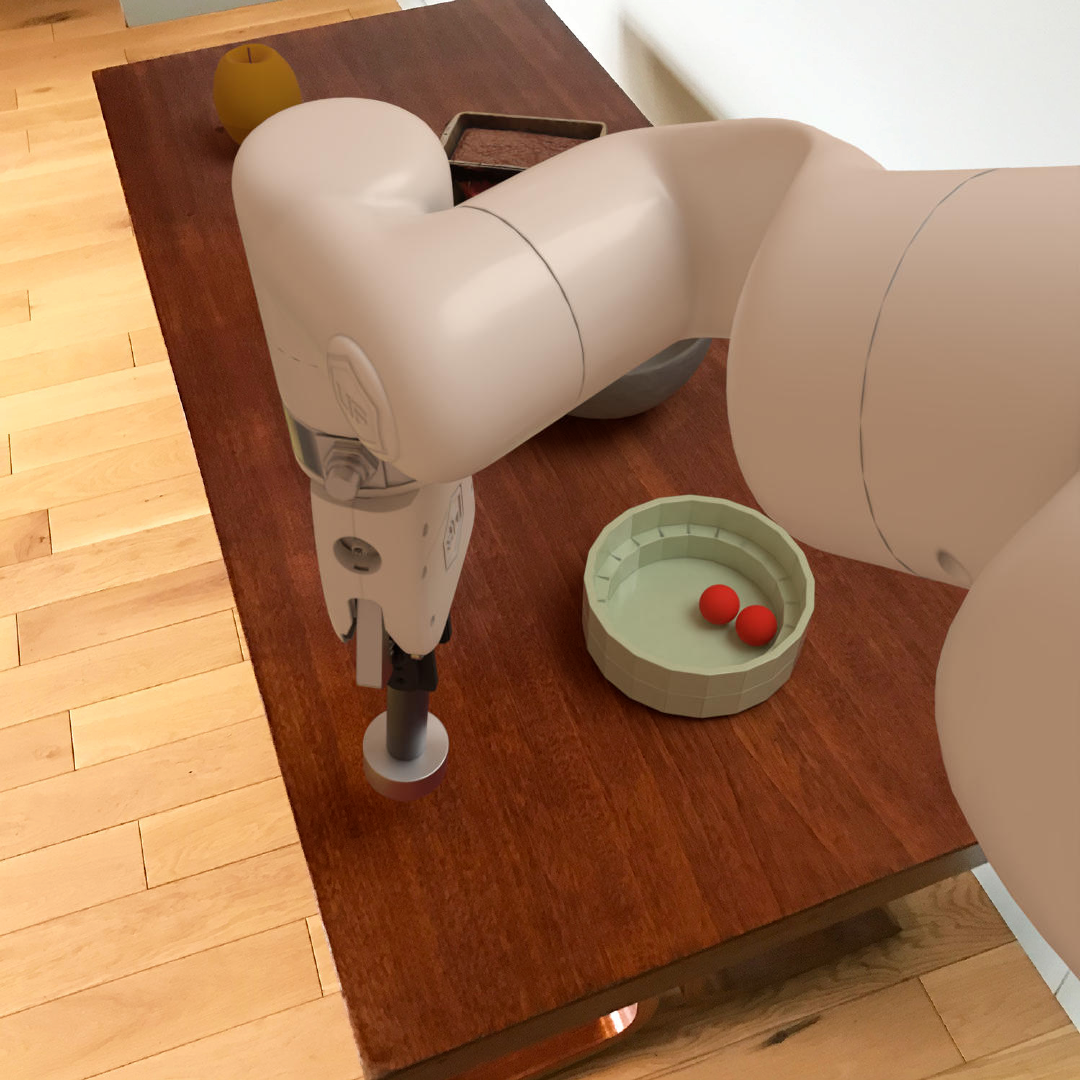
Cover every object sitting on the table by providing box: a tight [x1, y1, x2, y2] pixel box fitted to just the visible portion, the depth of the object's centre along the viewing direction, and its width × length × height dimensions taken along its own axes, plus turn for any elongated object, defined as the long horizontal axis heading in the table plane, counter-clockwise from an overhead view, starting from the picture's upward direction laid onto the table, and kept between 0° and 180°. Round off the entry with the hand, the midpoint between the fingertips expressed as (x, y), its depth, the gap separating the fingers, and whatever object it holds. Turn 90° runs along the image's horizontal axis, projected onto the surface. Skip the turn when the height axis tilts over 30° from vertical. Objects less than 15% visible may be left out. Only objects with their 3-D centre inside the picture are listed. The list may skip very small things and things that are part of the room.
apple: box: [212, 43, 303, 147], centre depth 124 cm, size 10×10×12 cm
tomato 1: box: [699, 584, 740, 625], centre depth 83 cm, size 3×3×3 cm
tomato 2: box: [735, 605, 777, 646], centre depth 81 cm, size 3×3×3 cm
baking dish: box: [438, 111, 609, 207], centre depth 118 cm, size 14×18×10 cm
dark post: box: [362, 685, 450, 802], centre depth 63 cm, size 5×5×18 cm
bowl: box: [566, 338, 714, 420], centre depth 98 cm, size 20×20×10 cm
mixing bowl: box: [581, 494, 816, 719], centre depth 81 cm, size 16×16×6 cm
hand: (415, 657), depth 60 cm, fingers closed on dark post, 2 cm apart
